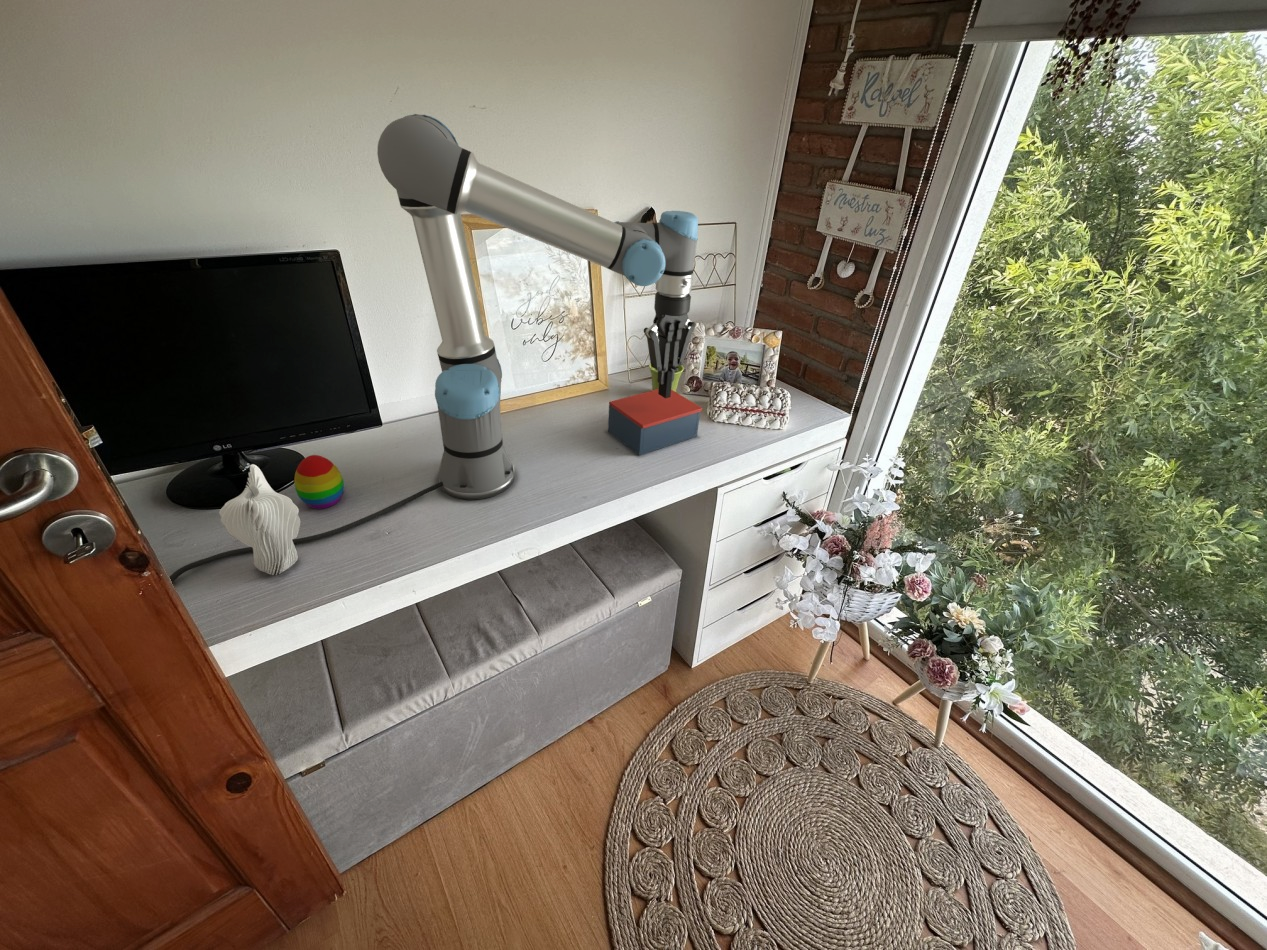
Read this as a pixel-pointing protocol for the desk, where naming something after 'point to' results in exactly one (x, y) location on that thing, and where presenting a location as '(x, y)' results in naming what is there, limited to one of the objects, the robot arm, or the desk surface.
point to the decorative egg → (318, 482)
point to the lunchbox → (651, 431)
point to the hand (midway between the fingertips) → (664, 395)
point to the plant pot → (674, 384)
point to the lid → (654, 408)
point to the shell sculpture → (264, 523)
